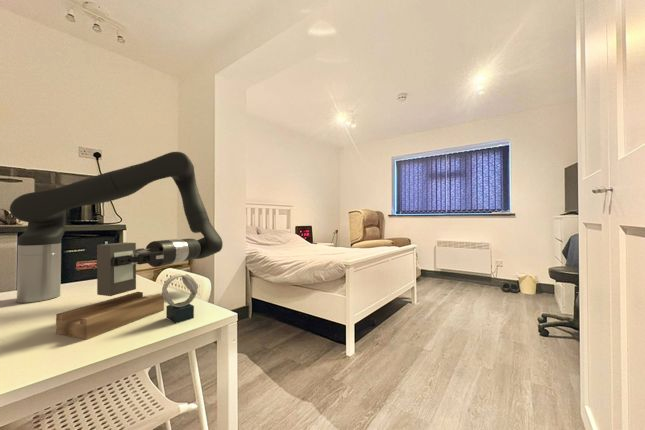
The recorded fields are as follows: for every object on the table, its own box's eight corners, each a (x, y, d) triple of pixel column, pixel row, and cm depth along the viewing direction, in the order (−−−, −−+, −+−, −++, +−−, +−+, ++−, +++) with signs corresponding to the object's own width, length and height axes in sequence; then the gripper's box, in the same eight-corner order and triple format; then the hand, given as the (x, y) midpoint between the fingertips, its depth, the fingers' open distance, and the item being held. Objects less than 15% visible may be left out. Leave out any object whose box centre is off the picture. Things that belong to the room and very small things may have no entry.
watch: (201, 315, 66) (201, 273, 66) (167, 326, 59) (167, 279, 59) (191, 310, 69) (191, 270, 69) (158, 320, 63) (158, 275, 63)
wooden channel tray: (55, 333, 56) (56, 314, 56) (137, 306, 73) (137, 291, 73) (86, 339, 53) (86, 319, 53) (164, 309, 70) (164, 294, 70)
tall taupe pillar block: (97, 294, 61) (97, 244, 61) (123, 288, 66) (123, 242, 67) (110, 296, 59) (110, 245, 59) (136, 289, 65) (136, 242, 65)
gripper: (150, 239, 79) (84, 245, 63) (186, 240, 75) (126, 246, 58) (150, 263, 79) (84, 275, 62) (186, 265, 74) (126, 279, 58)
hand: (105, 261), depth 60 cm, fingers closed on tall taupe pillar block, 4 cm apart
